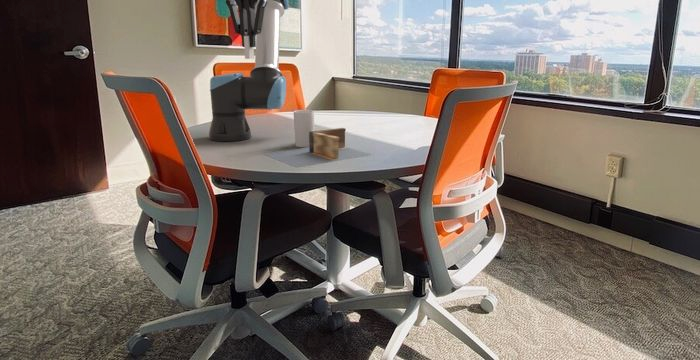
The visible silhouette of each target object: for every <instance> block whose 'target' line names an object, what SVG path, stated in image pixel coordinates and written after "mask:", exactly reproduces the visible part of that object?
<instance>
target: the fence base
mask: <svg viewBox="0 0 700 360" xmlns="http://www.w3.org/2000/svg"><path fill="white" fill-rule="evenodd" d="M315 132H318V133H323V134H327V135H332V136H336V137H339V140H338V148H344V147H346V128H345V127H338V128H330V129H320V130H314V131H311V132H309V152H311V153H314V140H313V133H315Z"/></svg>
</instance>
